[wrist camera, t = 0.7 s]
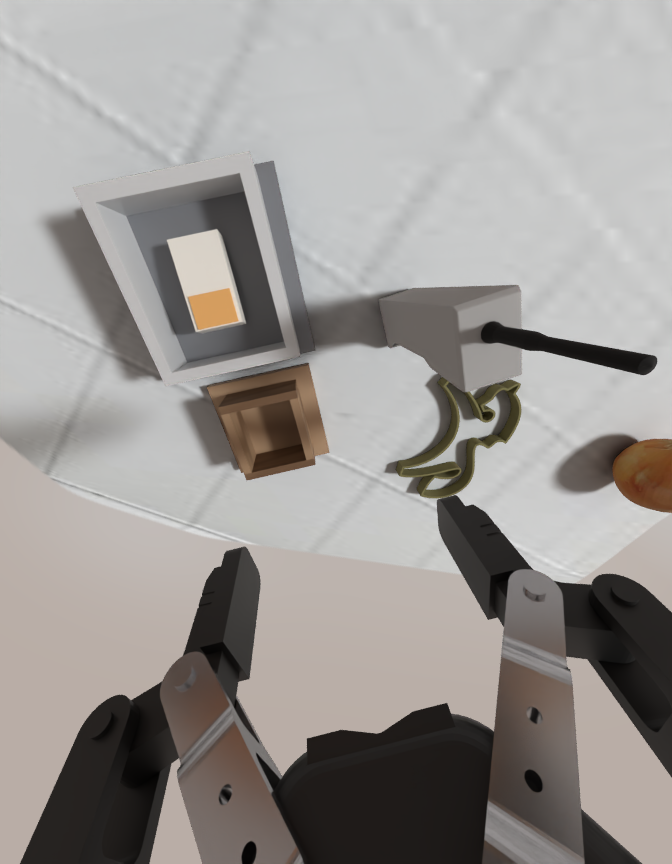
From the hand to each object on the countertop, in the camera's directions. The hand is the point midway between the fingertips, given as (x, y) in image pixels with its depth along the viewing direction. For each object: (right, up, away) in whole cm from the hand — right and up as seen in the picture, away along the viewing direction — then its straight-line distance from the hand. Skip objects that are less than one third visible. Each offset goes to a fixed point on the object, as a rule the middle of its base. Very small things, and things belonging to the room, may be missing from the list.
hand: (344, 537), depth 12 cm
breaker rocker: (-11, +17, +13) cm, 24 cm away
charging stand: (-8, +6, +23) cm, 25 cm away
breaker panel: (-11, +18, +16) cm, 27 cm away
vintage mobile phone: (+6, +17, +20) cm, 26 cm away
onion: (+42, +1, +32) cm, 53 cm away
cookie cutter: (+15, +4, +27) cm, 31 cm away
